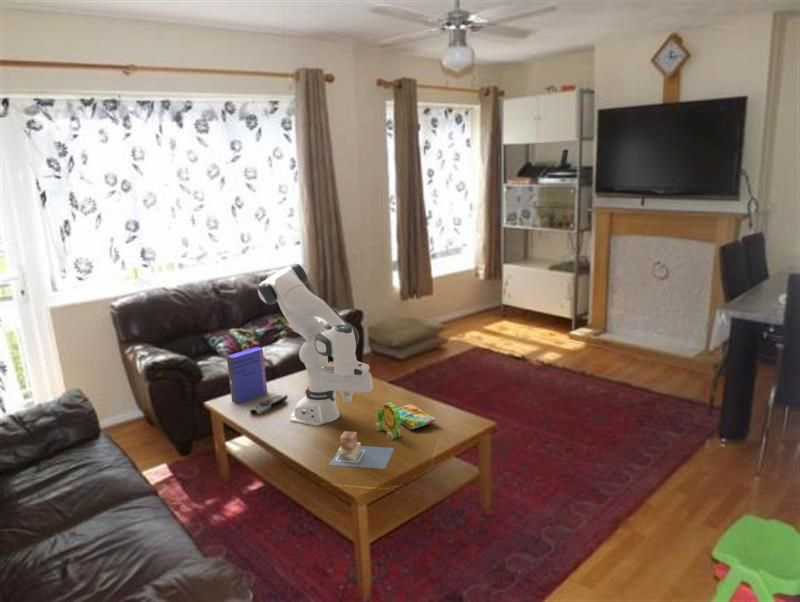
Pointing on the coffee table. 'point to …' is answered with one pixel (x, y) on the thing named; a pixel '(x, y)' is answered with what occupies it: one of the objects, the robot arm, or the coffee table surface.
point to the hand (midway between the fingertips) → (347, 401)
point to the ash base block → (350, 453)
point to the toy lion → (388, 420)
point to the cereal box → (247, 374)
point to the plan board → (367, 458)
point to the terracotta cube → (348, 440)
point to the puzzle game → (414, 417)
